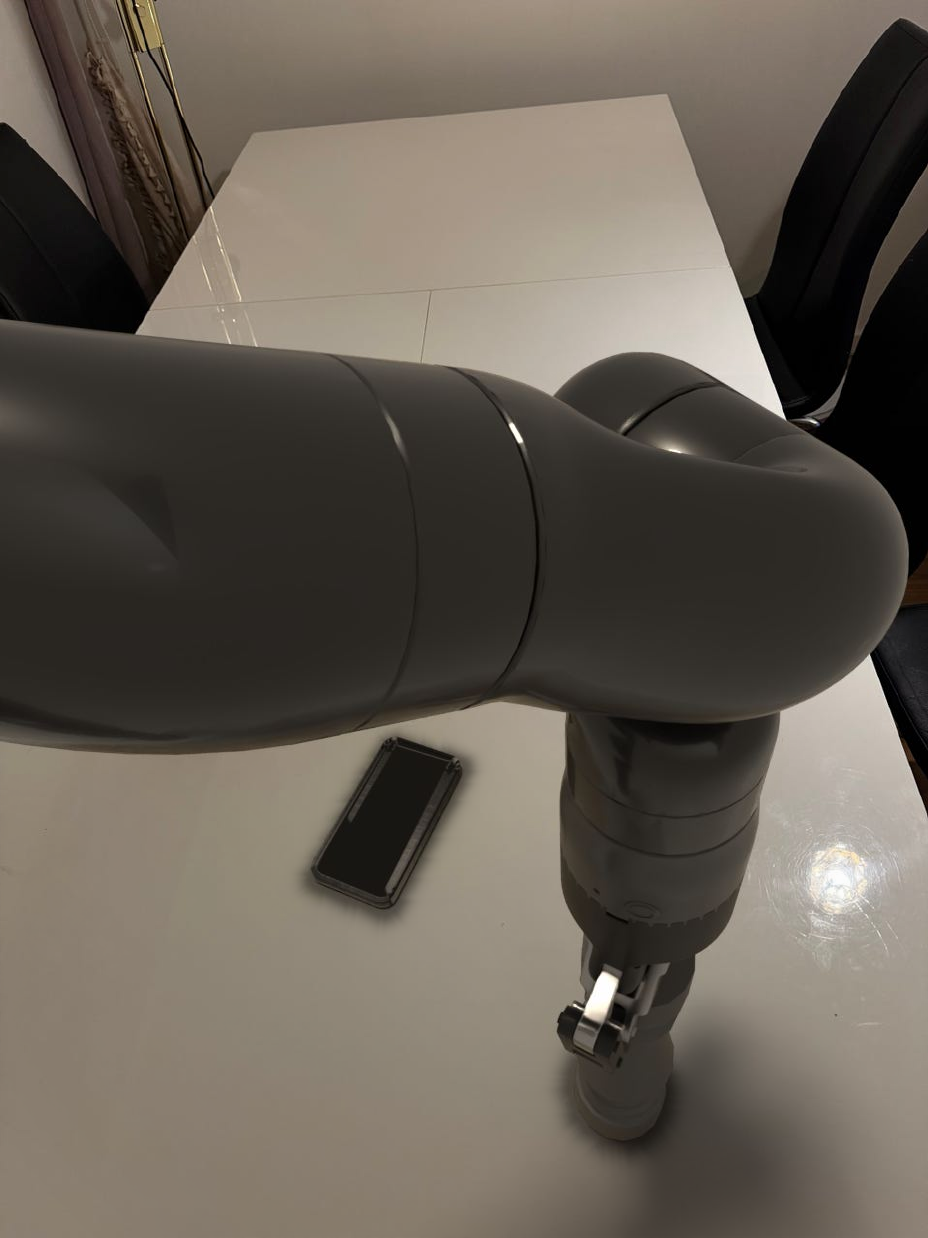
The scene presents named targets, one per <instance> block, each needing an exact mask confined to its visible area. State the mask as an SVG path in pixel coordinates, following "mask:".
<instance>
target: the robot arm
mask: <svg viewBox="0 0 928 1238" xmlns="http://www.w3.org/2000/svg"><path fill="white" fill-rule="evenodd" d="M904 525H905V524H904V521H903V519H902V516H901V513H900V511H899V509H898V507H897V505H896V504H895V502H894V500H893V499H892V497H891V495H890V493H888V491H887V489H886V488H885V487H884V486H883V485H882V483H881V482H880V481H879V480H878V479H877V478H876V477H875V476H874V475H873V474H872V473H870V472H869V471H868V470H867V469H865V468H864V467H863V466H862V465H860V464H859V463H858V462H857V461H854V460H853V459H852V458H850V457H848V456H847V455H845V454H844V453H843V452H841V451H839V450H837V449H835V448H834V447H833V446H831V445H829V444H827V443H826V442H824V441H822V440H820V439H819V438H818V437H815V436H813V435H811V433H808V432H807V431H805V430H804V429H802V428H800V427H798V426H797V425H795V424H794V423H792V422H790V421H789V420H786V419H785V418H783V417H782V416H780V415H778V414H776V413H775V412H773V411H771V410H770V409H768V408H767V407H765V406H763V405H761V404H759V403H758V402H756V401H755V400H754V399H751V398H750V397H748V396H746V395H744V394H743V393H741V392H739V391H738V390H736V389H735V388H733V387H732V386H730V385H728V384H726V383H725V382H723V381H722V380H720V379H718V378H716V377H715V376H713V375H711V374H710V373H708V372H707V371H704V370H703V369H701V368H699V367H697V366H695V365H693V364H692V363H690V362H687V361H685V360H682V359H680V358H676V357H674V356H670V355H667V354H664V353H660V352H653V351H652V352H651V351H627V352H621V353H618V354H613V355H610V356H607V357H605V358H602V359H600V360H599V359H598V360H597V361H595V362H594V363H591V364H590V365H588V366H587V365H586V367H584V368H582V369H580V370H579V371H578V372H576V373H575V374H574V375H572V376H571V377H570V378H569V379H568V380H567V381H566V382H565V383H563V384H562V385H561V386H560V387H559V388H558V390H557V391H556V392H554V394H553V395H552V394H549V393H547V392H545V391H544V390H542V389H539V388H537V387H535V386H532V385H530V384H527V383H524V382H522V381H519V380H516V379H512V378H510V377H507V376H503V375H500V374H496V373H492V372H488V371H485V370H484V371H483V370H478V369H473V368H467V367H459V366H452V365H443V364H437V363H435V364H431V363H425V362H415V361H407V360H397V359H388V358H378V357H370V356H360V355H351V354H341V353H331V352H322V351H314V350H304V349H303V350H302V349H289V348H276V347H267V346H256V345H255V346H254V345H243V344H234V343H224V342H223V343H222V342H213V341H204V340H195V339H186V338H185V339H184V338H174V337H165V336H156V335H155V336H154V335H145V334H136V333H127V332H117V331H109V330H100V329H90V328H81V327H73V326H65V325H56V324H46V323H38V322H30V321H29V322H28V321H20V320H13V319H12V320H11V319H3V318H0V742H3V743H9V744H15V745H22V746H29V747H38V748H46V749H56V750H64V751H73V752H85V753H86V752H87V753H100V754H101V753H102V754H117V755H141V756H143V755H145V756H146V755H147V756H149V755H151V756H153V755H154V756H159V755H161V756H181V755H183V756H184V755H200V754H201V755H202V754H215V753H216V754H217V753H234V752H235V753H236V752H247V751H254V750H263V749H271V748H277V747H287V746H292V745H293V746H294V745H298V744H303V743H308V742H314V741H318V740H323V739H329V738H333V737H338V736H341V735H346V734H351V733H356V732H361V731H366V730H371V729H375V728H380V727H385V726H390V725H395V724H399V723H405V722H410V721H415V720H419V719H424V718H429V717H434V716H439V715H444V714H449V713H453V712H459V711H464V710H469V709H472V708H478V707H481V706H485V705H488V704H493V703H494V704H495V703H508V704H513V705H521V706H527V707H531V708H537V709H541V710H547V711H554V712H559V713H564V714H565V721H564V764H565V766H564V770H563V774H562V776H561V777H562V778H561V782H560V790H559V799H558V800H559V802H558V803H559V807H558V810H559V813H558V815H559V859H560V861H559V863H560V865H559V866H560V868H559V869H560V885H561V891H562V895H563V898H564V899H563V900H564V902H565V904H566V907H567V909H568V911H569V913H570V915H571V917H572V918H573V920H574V921H575V923H576V924H577V926H578V927H579V929H580V930H581V932H583V933H584V934H585V937H586V939H587V941H588V946H587V950H586V955H585V959H584V963H583V967H582V971H581V970H580V976H579V982H580V985H581V986H582V987H583V989H584V988H585V989H586V991H587V995H586V999H585V998H584V1000H583V1003H582V1002H579V1001H578V1000H576V999H574V1000H572V1002H571V1005H570V1004H567V1005H566V1007H564V1008H565V1009H564V1011H562V1010H561V1011H560V1012H559V1015H558V1017H557V1020H556V1023H557V1024H558V1025H557V1028H556V1034H557V1036H558V1038H559V1040H560V1042H561V1044H562V1046H563V1048H564V1050H565V1051H567V1052H569V1053H571V1054H572V1055H576V1054H577V1055H579V1056H581V1057H583V1058H585V1059H587V1060H588V1061H590V1062H592V1063H594V1064H596V1065H598V1066H600V1067H602V1068H603V1069H604V1070H605V1071H607V1072H609V1073H610V1074H612V1075H614V1073H615V1071H616V1069H617V1068H618V1069H620V1067H621V1065H622V1062H623V1059H624V1058H622V1057H621V1056H622V1053H628V1051H629V1048H630V1046H631V1043H632V1041H633V1037H634V1035H635V1033H636V1030H637V1026H635V1025H636V1022H637V1018H638V1016H644V1015H646V1014H647V1013H648V1011H649V1009H650V1007H651V1005H652V1002H653V1000H654V998H655V996H656V993H657V990H658V987H659V983H660V980H661V977H662V975H664V974H665V973H666V972H667V969H668V967H669V965H670V963H671V962H676V961H680V960H683V959H686V958H689V957H691V956H694V955H695V956H696V955H698V954H699V953H701V952H703V951H705V950H706V949H707V948H709V946H711V945H712V944H713V943H714V942H715V941H716V940H717V939H718V938H719V937H720V936H721V935H722V933H723V932H724V931H725V929H726V928H727V926H728V924H729V922H730V920H731V918H732V915H733V914H734V910H735V907H736V904H737V901H738V897H739V894H740V890H741V887H742V884H743V880H744V878H745V875H746V872H747V868H748V864H749V861H750V858H751V855H752V852H753V848H754V845H755V843H756V837H757V833H758V828H759V825H760V810H761V809H760V807H761V795H762V793H763V792H762V791H763V788H764V785H765V781H766V778H767V774H768V772H769V768H770V765H771V762H772V759H773V757H774V753H775V749H776V744H777V741H778V737H779V732H780V726H781V713H782V711H785V710H788V709H791V708H792V707H795V706H797V705H799V704H802V703H803V702H806V701H809V700H811V699H813V698H815V697H816V696H819V695H820V694H821V693H824V692H825V691H826V690H828V689H830V688H832V687H833V686H834V685H836V684H837V683H838V682H840V681H842V680H843V679H844V678H846V677H847V676H848V675H850V674H851V673H852V672H853V671H854V670H856V668H858V667H859V666H860V665H861V664H862V663H863V662H864V661H866V659H867V658H868V657H869V656H870V655H871V653H872V652H873V651H874V650H875V649H876V647H877V646H878V645H879V643H881V641H882V640H883V638H884V636H885V635H886V633H887V632H888V630H889V629H890V627H891V626H892V625H893V622H894V620H895V618H896V616H897V614H898V612H899V609H900V607H901V604H902V601H903V598H904V595H905V592H906V588H907V582H908V576H909V575H908V574H909V554H910V553H909V542H908V537H907V531H906V529H905V526H904ZM647 973H648V974H647ZM646 974H647V977H646V981H642V979H643V978H644V977H645V976H646ZM585 989H584V990H585ZM614 1002H615V1003H617V1004H619V1005H621V1006H622V1007H623V1008H624V1009H625V1011H624V1010H622V1009H620V1008H618V1007H616V1006H614Z"/></svg>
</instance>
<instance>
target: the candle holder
mask: <svg viewBox="0 0 928 1238" xmlns="http://www.w3.org/2000/svg"><path fill="white" fill-rule="evenodd" d="M581 944H582V945H581V953H580V954H581V955H580V972H581V971H582V967H583V963H584V959H585V955H586V950H587V946H588V941H587V939H586V937H585V934H584V933H583V935H582V943H581ZM695 972H696V955H694V956H691V957H689V958H686V959H683V960H680V961H676V962H671V963H670V965H669V967H668V969H667V972H666V973H665V974H664V975H662V977H661V980H660V983H659V987H658V990H657V993H656V996H655V998H654V1000H653V1002H652V1005H651V1007H650V1009H649V1011H648V1013H647V1014H646V1015H644V1016H638V1018H637V1022H636V1025H635V1026H637V1030H636V1033H635V1035H634V1037H633V1041H632V1043H631V1046H630V1048H629V1051H628V1053H622V1056H621V1057H622V1058H624V1059H623V1062H622V1065H621V1067H620V1069H618V1068H617V1069H616V1071H615V1073H614V1075H612V1074H610V1073H609V1072H607V1071H605V1070H604V1069H603V1068H602V1067H600V1066H598V1065H596V1064H594V1063H592V1062H590V1061H588V1060H587V1059H585V1058H583V1057H581V1056H579V1055H577V1054H575V1056H576V1061H575V1070H574V1080H573V1094H574V1099H575V1101H576V1105H577V1109H578V1112H579V1114H580V1115H581V1117H582V1118H583V1119H584V1121H585V1122H586V1124H587V1125H588V1126H589V1128H591V1129H592V1130H593V1131H595V1132H597V1133H598V1134H599V1135H601V1136H602V1137H604V1138H605V1139H611V1140H616V1141H620V1142H626V1141H630V1140H634V1139H638V1138H641V1137H643V1136H644V1135H645V1134H646V1133H647V1132H648V1131H650V1130H651V1129H652V1128H653V1127H654V1126H655V1125H656V1122H657V1121H658V1118H659V1116H660V1114H661V1112H662V1109H663V1107H664V1104H665V1100H666V1096H667V1095H666V1094H667V1082H668V1080H669V1078H670V1075H671V1073H672V1071H673V1069H674V1068H673V1067H674V1056H675V1050H674V1049H675V1045H674V1043H673V1039H672V1036H671V1033H670V1032H671V1030H672V1028H673V1026H674V1025H675V1023H676V1020H677V1018H678V1016H679V1014H680V1013H681V1011H682V1009H683V1006H684V1004H685V1002H686V1001H687V999H688V996H689V994H690V991H691V987H692V984H693V980H694V977H695ZM647 974H648V973H647ZM647 974H646V976H645V977H644V978H643V979H642V981H646V977H647ZM583 989H584V1000H585V999H586V995H587V991H586V989H585V988H584V987H583ZM614 1006H616V1007H618V1008H620V1009H622V1010H624V1011H625V1009H624V1008H623V1007H622V1006H621V1005H619V1004H617V1003H615V1002H614Z"/></svg>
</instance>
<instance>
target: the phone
mask: <svg viewBox="0 0 928 1238" xmlns="http://www.w3.org/2000/svg"><path fill="white" fill-rule="evenodd" d="M461 776H462V766H461V762H460V760H459V758H458V757H457V756H455V755H453V754H449V753H447V752H444V751H441V750H439V749H436V748H432V747H430V746H427V745H423V744H420V743H418V742H415V741H412V740H409V739H407V738H403V737H399V736H391V737H388V738H387V739H385V740H384V741H383V742H382V744H381V746H380V747H379V749H378V751H377V753H376V754H375V756H374V757H373V760H372V761H371V762H370V765H368V768H367V769H366V771H365V772H364V774H363V776H362V777H361V779H360V781H359V782H358V784H357V786H356V788H355V789H354V792H352V794H351V796H350V798H349V799H348V801H347V803H346V804H345V806H344V808H343V809H342V811H341V813H340V815H339V816H338V817H337V820H336V821H335V823H334V825H333V826H332V828H331V830H330V831H329V833H328V835H327V836H326V838H325V839H324V841H323V843H322V845H321V846H320V848H319V850H318V851H317V853H316V854H315V856H314V858H313V860H312V862H311V864H310V871H311V874H312V876H313V878H314V880H315V882H317V883H319V884H320V885H322V886H325V887H327V888H330V889H332V890H335V891H337V892H339V893H341V894H344V895H346V896H348V897H351V898H354V899H356V900H359V901H361V902H363V903H366V904H368V905H370V906H373V907H375V908H379V909H386V908H389V907H391V906H392V905H394V904H395V902H396V901H397V898H399V895H400V893H401V891H402V889H403V888H404V886H405V884H406V881H407V880H408V877H409V876H410V874H411V872H412V870H413V868H414V866H415V864H416V862H417V861H418V858H419V857H420V855H421V853H422V851H423V849H424V846H425V845H426V844H427V841H428V840H429V837H430V836H431V833H432V831H433V829H434V828H435V826H436V825H437V822H438V820H439V818H440V816H441V814H442V812H443V811H444V809H445V807H446V805H447V803H448V801H449V799H450V797H451V795H452V793H453V791H454V789H455V788H456V785H457V783H458V781H459V780H460V778H461Z"/></svg>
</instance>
